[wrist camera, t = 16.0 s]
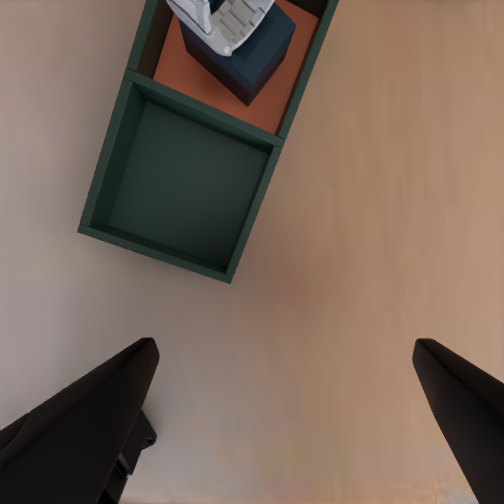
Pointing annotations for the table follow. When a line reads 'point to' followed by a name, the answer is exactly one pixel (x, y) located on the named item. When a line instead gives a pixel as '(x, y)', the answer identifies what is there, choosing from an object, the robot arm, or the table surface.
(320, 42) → the tray
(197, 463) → the table surface
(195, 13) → the watch
